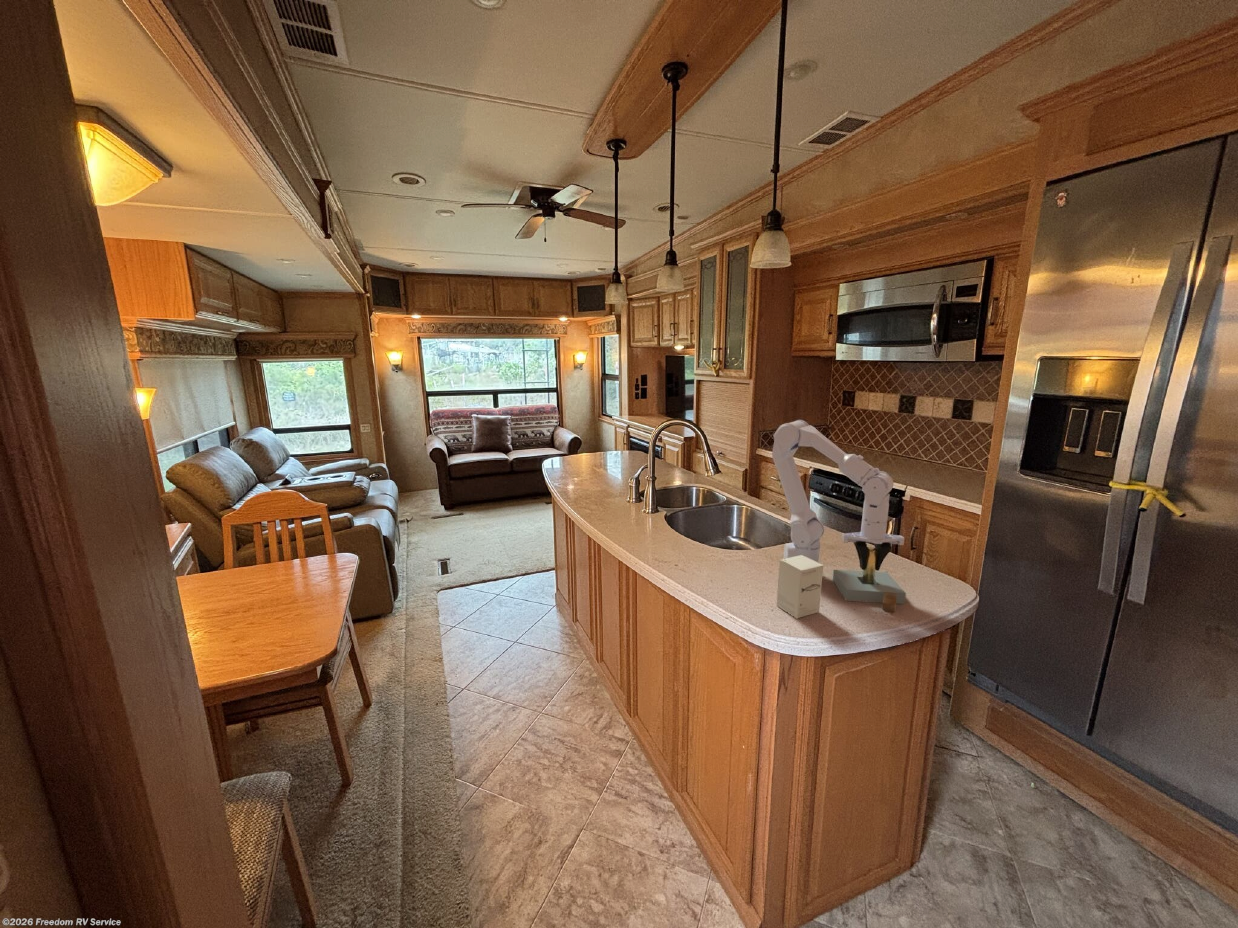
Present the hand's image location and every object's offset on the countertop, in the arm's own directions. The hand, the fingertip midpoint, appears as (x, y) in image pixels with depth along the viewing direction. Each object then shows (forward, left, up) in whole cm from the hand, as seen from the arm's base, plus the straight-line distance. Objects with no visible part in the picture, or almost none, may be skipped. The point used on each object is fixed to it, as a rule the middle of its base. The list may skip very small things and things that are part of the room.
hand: (869, 568), depth 127 cm
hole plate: (0, 0, -6) cm, 6 cm away
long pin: (0, 0, -3) cm, 3 cm away
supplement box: (-20, -12, -7) cm, 24 cm away
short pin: (+2, -9, -6) cm, 12 cm away
